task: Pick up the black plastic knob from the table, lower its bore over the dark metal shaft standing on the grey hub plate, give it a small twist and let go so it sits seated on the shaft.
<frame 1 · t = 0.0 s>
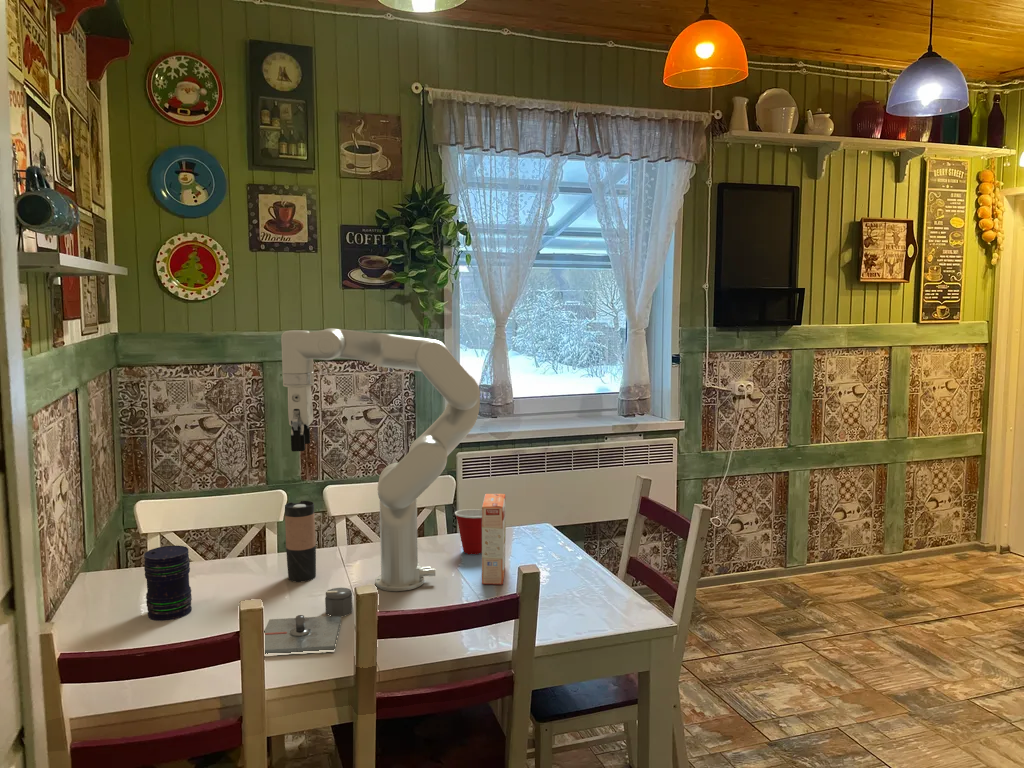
hand: (301, 447, 200), 37 cm above the table, tool pointing down, fingers open, 9 cm apart
travel mug: (302, 578, 212), on the table
knob: (339, 611, 189), on the table
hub: (300, 638, 174), on the table
cracker box: (494, 576, 212), on the table
storage jar: (170, 613, 189), on the table
plastic cup: (473, 552, 232), on the table
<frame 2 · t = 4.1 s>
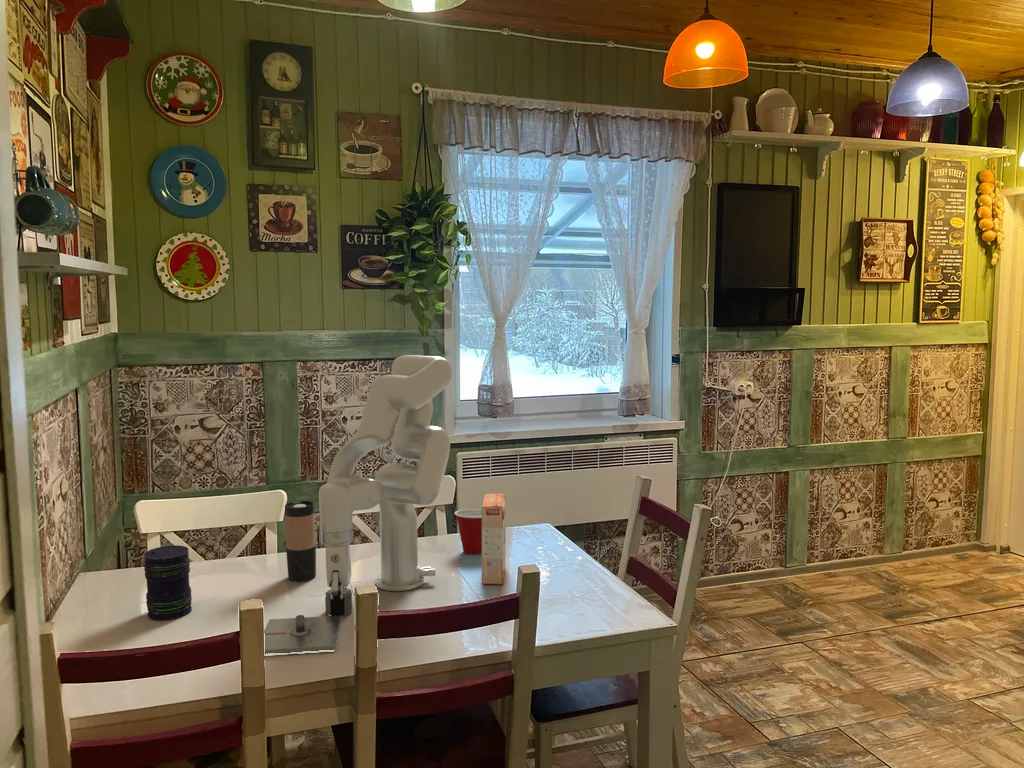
hand: (339, 608, 189), 1 cm above the table, tool pointing down, fingers closed on knob, 6 cm apart
knob: (339, 611, 189), on the table, touching gripper
everything else where it was.
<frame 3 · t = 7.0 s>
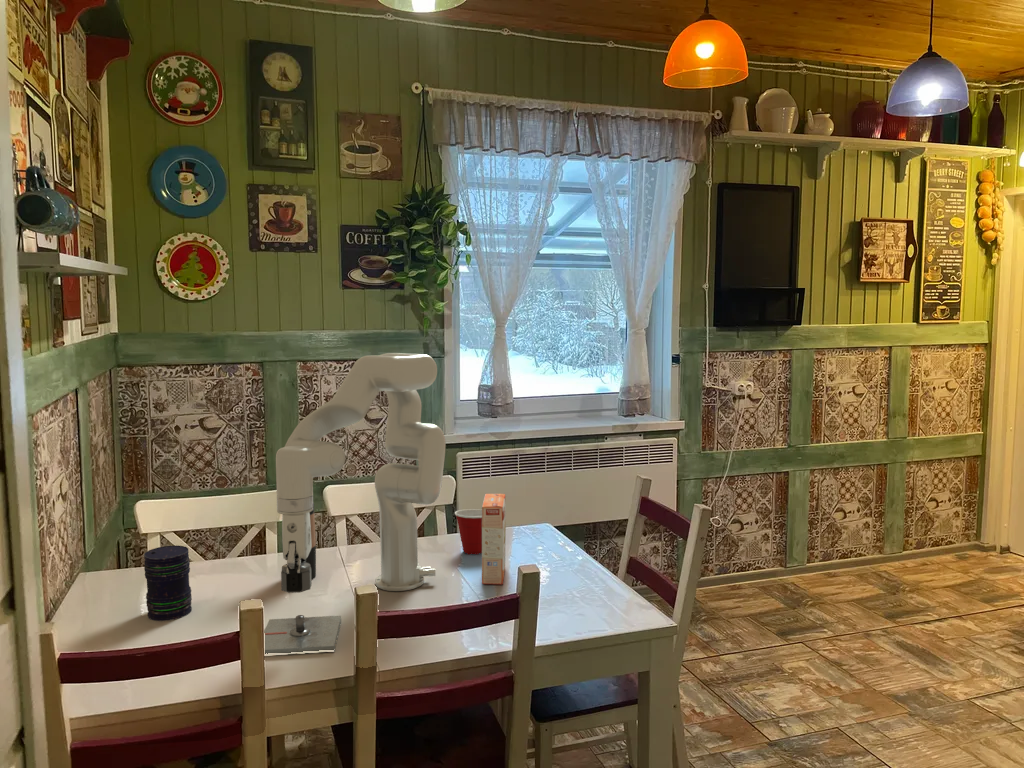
hand: (296, 584, 172), 12 cm above the table, tool pointing down, fingers closed on knob, 6 cm apart
knob: (296, 587, 172), point 12 cm above the table, touching gripper
everything else where it was.
when the fingers open (3 cm above the table, at t = 10.0 s): knob stays where it is, resting on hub.
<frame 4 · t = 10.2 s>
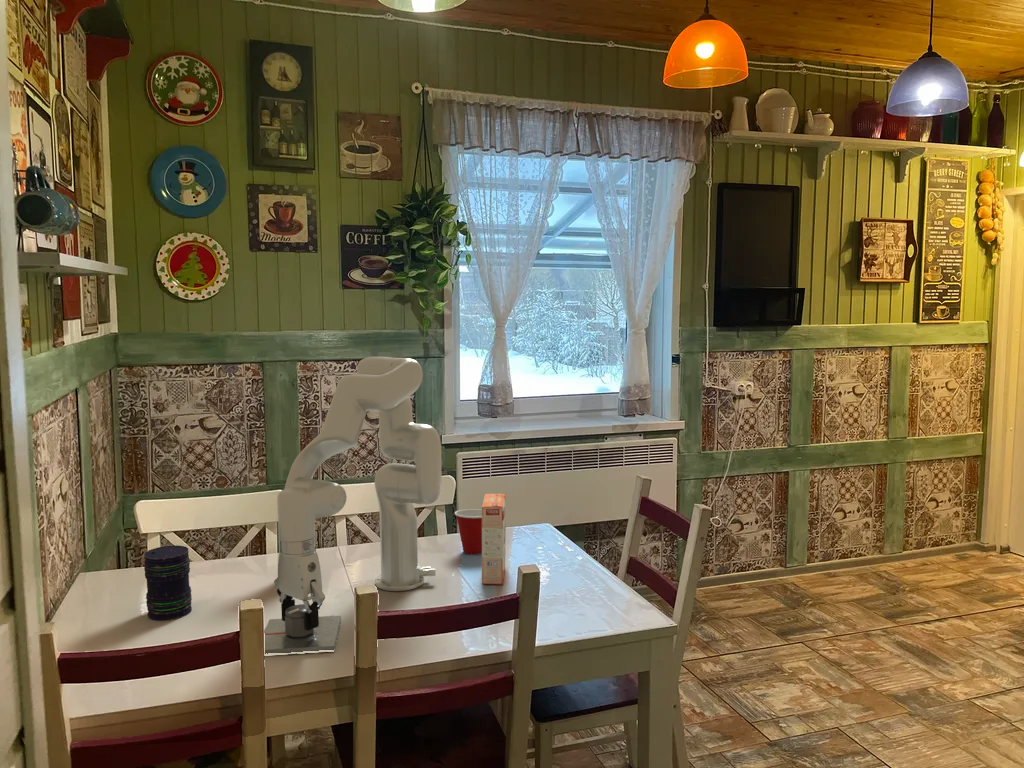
hand: (300, 623, 174), 4 cm above the table, tool pointing down, fingers open, 7 cm apart
knob: (300, 630, 174), point 2 cm above the table, touching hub
everything else where it was.
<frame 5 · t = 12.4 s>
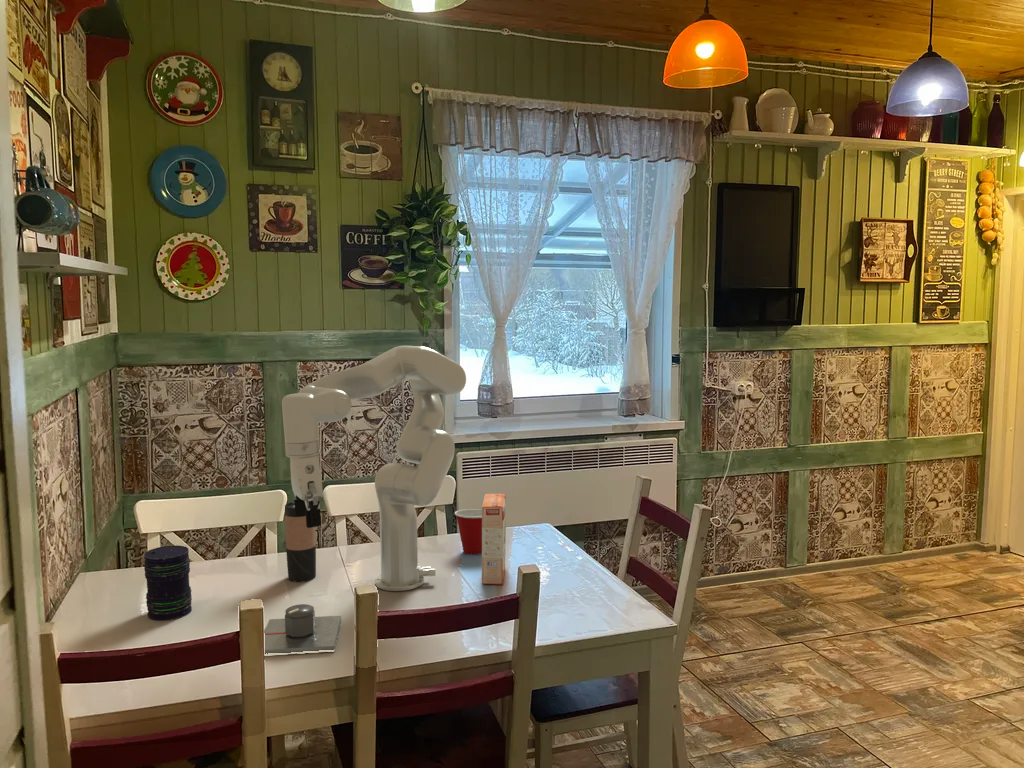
hand: (308, 520, 182), 23 cm above the table, tool pointing down, fingers open, 9 cm apart
nothing on the table moved.
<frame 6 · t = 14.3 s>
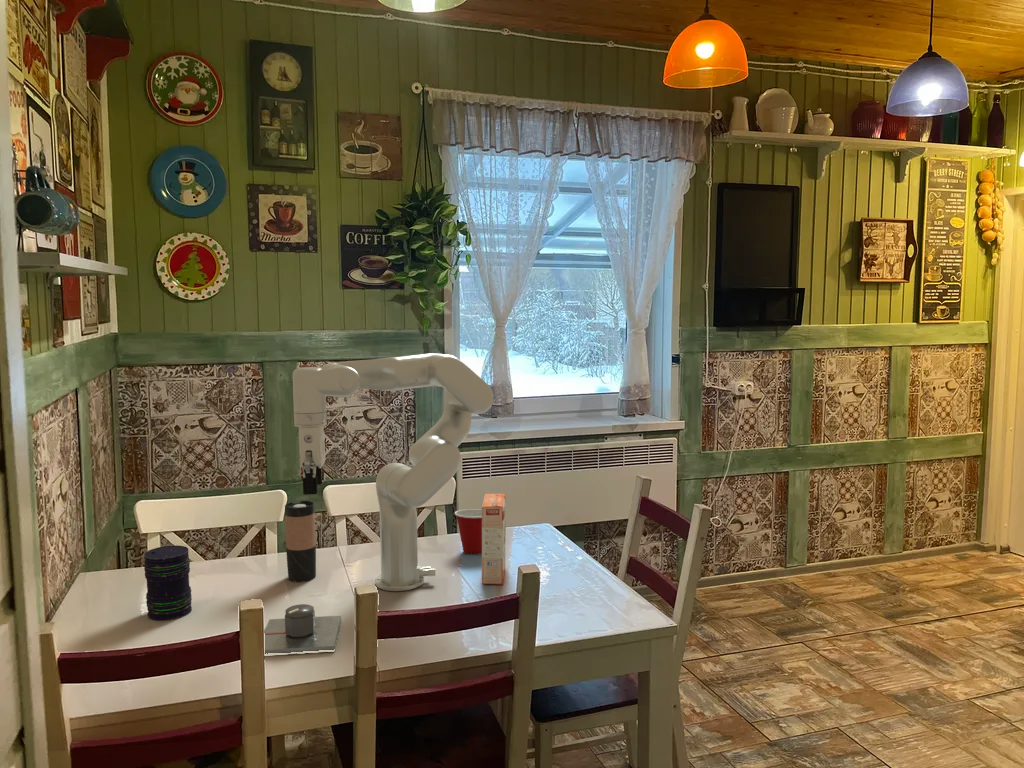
hand: (312, 489, 192), 28 cm above the table, tool pointing down, fingers open, 9 cm apart
nothing on the table moved.
at the end: knob 0.0 cm off-centre on the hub, point 1.8 cm above the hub's base; the gripper is holding nothing; knob tilted 0° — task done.
